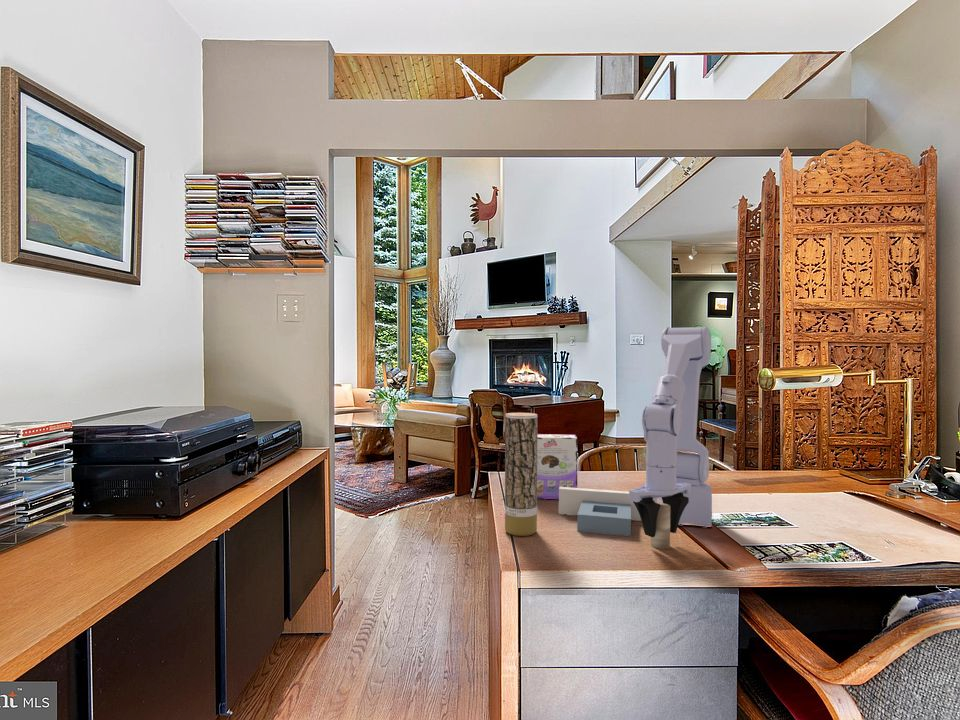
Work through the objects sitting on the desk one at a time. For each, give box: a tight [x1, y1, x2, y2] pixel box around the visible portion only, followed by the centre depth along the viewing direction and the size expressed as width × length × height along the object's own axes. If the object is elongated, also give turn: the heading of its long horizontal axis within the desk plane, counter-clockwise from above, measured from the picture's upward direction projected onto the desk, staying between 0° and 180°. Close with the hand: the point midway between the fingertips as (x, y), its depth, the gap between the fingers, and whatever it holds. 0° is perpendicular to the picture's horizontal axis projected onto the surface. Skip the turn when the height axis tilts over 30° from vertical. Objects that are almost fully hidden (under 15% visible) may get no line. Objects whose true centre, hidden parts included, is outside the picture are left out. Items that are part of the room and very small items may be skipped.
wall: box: [558, 487, 658, 522], centre depth 126 cm, size 22×2×6 cm, turn 75°
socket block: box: [576, 501, 632, 537], centre depth 120 cm, size 11×11×4 cm
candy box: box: [537, 433, 578, 500], centre depth 143 cm, size 14×6×16 cm, turn 84°
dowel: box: [650, 502, 671, 550], centre depth 107 cm, size 4×4×8 cm
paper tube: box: [504, 412, 539, 537], centre depth 115 cm, size 7×7×25 cm
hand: (660, 533), depth 107 cm, fingers open, 5 cm apart
